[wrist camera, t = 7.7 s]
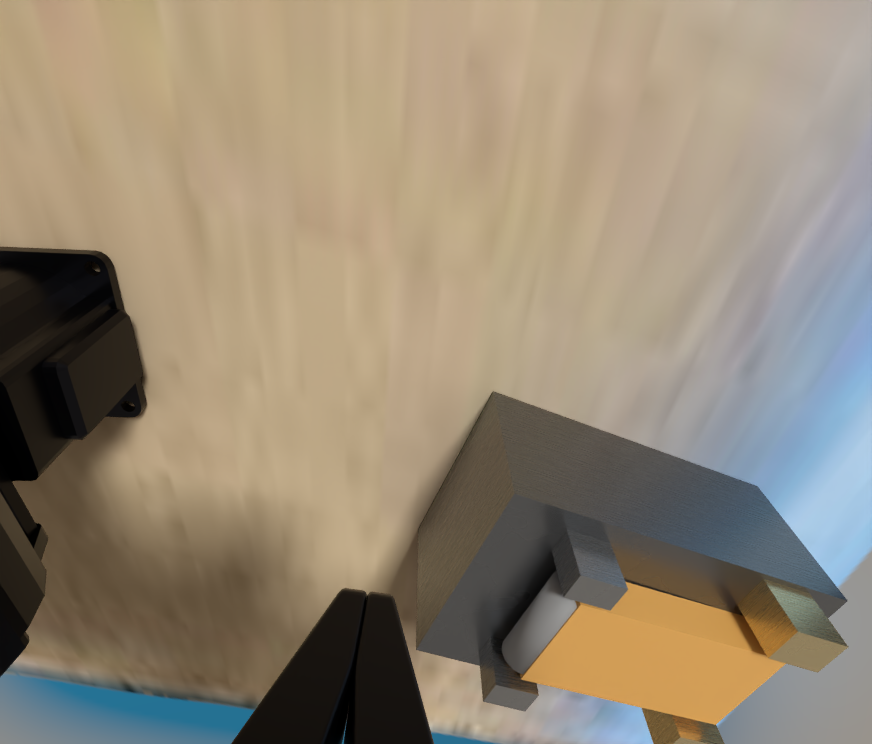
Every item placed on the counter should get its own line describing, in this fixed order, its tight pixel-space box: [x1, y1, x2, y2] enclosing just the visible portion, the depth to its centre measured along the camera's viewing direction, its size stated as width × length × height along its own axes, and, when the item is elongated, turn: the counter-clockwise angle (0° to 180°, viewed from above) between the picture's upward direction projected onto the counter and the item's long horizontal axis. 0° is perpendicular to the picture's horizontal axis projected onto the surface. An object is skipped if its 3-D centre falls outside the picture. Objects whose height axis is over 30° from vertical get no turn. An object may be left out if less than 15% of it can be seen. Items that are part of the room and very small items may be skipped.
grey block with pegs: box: [416, 391, 848, 744], centre depth 22 cm, size 13×8×8 cm, turn 67°
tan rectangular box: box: [502, 571, 786, 725], centre depth 19 cm, size 9×4×2 cm, turn 67°
